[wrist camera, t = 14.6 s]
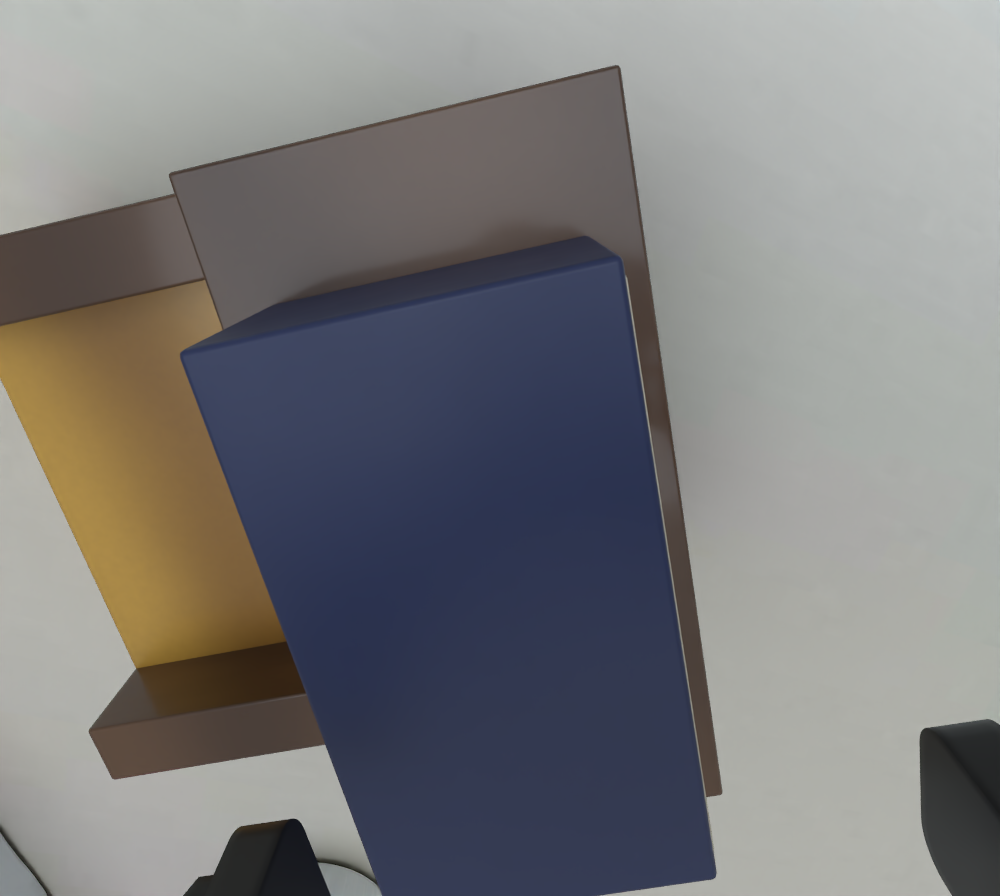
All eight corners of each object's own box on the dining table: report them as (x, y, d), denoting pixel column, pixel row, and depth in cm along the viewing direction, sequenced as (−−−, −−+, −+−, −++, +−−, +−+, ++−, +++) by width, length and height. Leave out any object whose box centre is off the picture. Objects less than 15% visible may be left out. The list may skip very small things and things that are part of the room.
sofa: (563, 126, 24) (620, 63, 12) (634, 542, 29) (723, 795, 17) (68, 242, 25) (-338, 293, 13) (221, 618, 31) (31, 901, 19)
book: (592, 233, 13) (627, 253, 9) (672, 721, 16) (720, 880, 13) (269, 305, 13) (174, 352, 9) (418, 762, 17) (391, 927, 13)
